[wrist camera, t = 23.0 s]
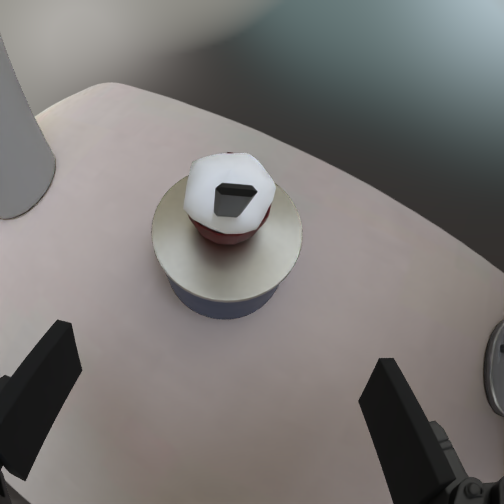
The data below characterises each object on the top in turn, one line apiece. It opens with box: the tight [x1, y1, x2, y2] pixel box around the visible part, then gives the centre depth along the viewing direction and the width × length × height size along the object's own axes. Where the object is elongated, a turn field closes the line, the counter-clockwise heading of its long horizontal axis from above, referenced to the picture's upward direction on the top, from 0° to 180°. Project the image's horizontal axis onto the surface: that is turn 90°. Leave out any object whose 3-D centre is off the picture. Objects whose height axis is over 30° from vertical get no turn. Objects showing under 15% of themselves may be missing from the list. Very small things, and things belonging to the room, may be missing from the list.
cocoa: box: [183, 152, 276, 245], centre depth 19 cm, size 10×6×12 cm, turn 158°
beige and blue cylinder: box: [151, 175, 302, 319], centre depth 28 cm, size 12×12×8 cm
